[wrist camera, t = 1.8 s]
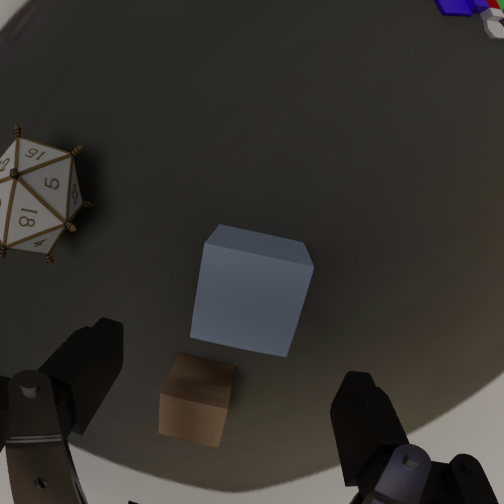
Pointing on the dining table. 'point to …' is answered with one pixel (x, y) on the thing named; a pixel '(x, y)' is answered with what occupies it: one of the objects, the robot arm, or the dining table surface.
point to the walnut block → (195, 400)
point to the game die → (37, 196)
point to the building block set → (486, 3)
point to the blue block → (250, 290)
